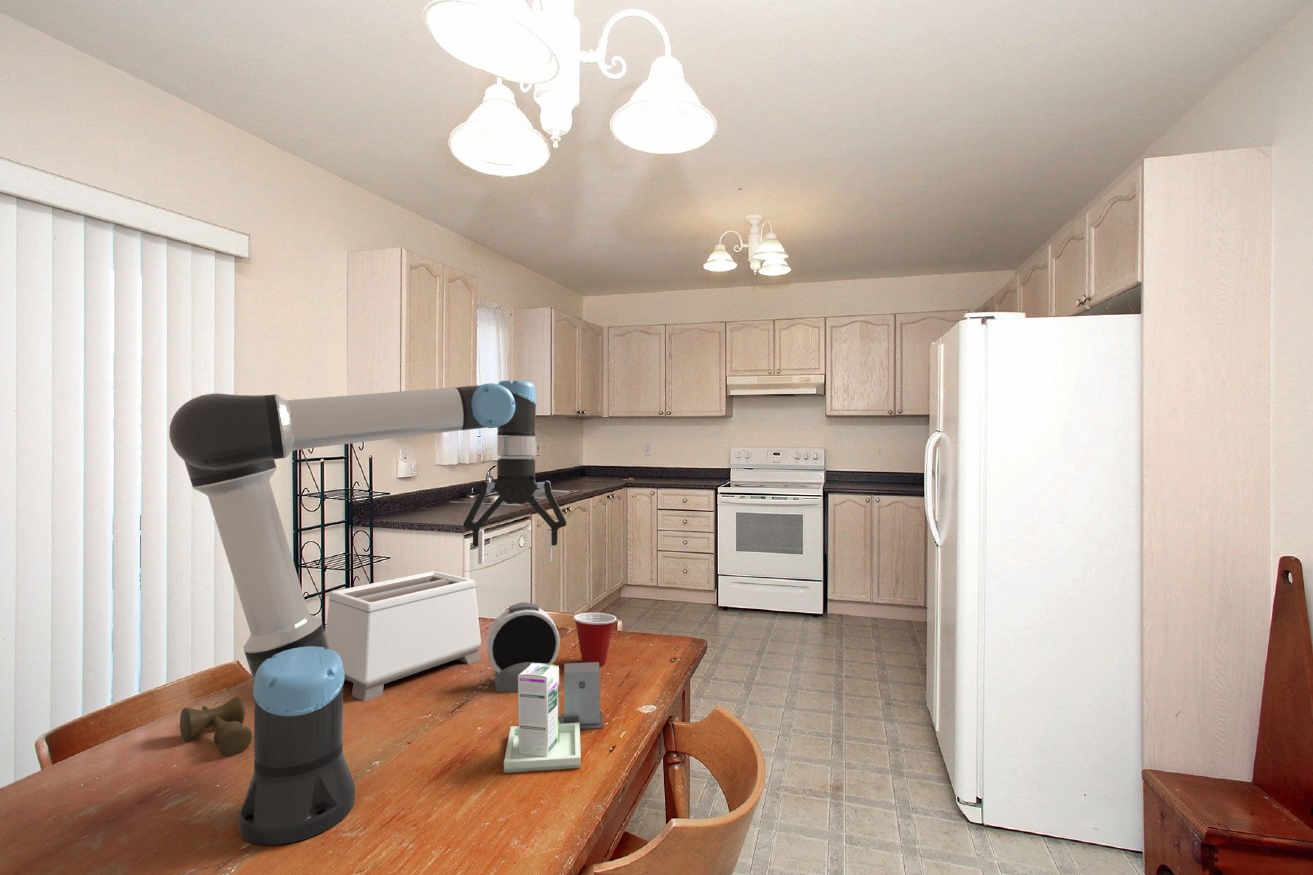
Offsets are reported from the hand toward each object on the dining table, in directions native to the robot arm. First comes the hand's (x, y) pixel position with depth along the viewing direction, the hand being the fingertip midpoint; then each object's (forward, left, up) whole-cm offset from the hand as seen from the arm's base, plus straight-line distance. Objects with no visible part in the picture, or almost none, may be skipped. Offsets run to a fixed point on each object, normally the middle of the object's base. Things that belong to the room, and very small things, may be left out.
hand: (515, 562), depth 125 cm
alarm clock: (0, +18, -32) cm, 37 cm away
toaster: (-28, +31, -32) cm, 52 cm away
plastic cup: (+17, +28, -32) cm, 46 cm away
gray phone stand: (+13, -3, -32) cm, 35 cm away
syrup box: (+6, -14, -31) cm, 35 cm away
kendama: (-54, -1, -32) cm, 63 cm away
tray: (+6, -14, -32) cm, 35 cm away
